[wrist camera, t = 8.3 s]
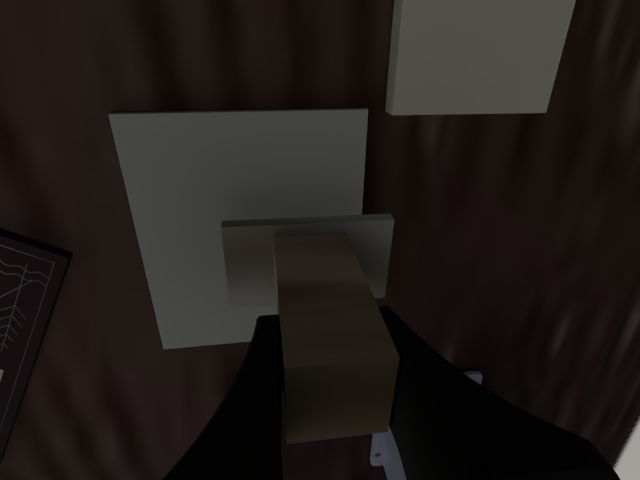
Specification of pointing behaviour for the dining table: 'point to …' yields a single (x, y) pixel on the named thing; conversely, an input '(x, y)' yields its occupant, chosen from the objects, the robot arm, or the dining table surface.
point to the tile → (475, 55)
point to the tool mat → (227, 198)
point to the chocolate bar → (24, 315)
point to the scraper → (321, 316)
